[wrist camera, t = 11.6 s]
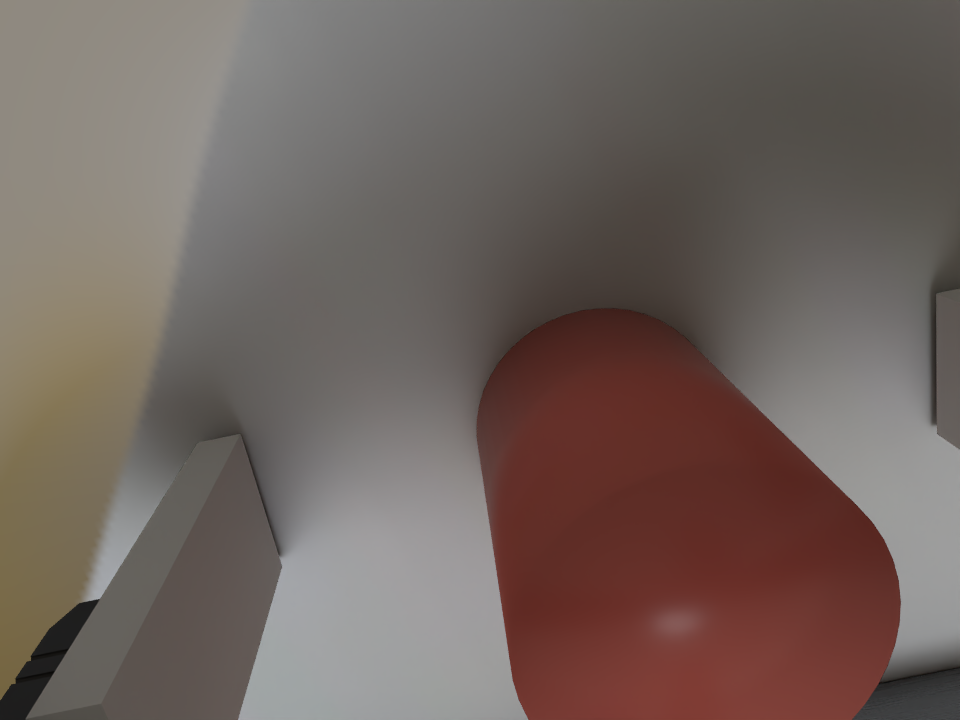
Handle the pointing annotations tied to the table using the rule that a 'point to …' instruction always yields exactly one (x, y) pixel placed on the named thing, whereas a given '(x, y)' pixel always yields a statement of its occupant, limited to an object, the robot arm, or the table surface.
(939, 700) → the panel
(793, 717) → the red rounded cylinder
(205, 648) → the robot arm
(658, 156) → the table surface
